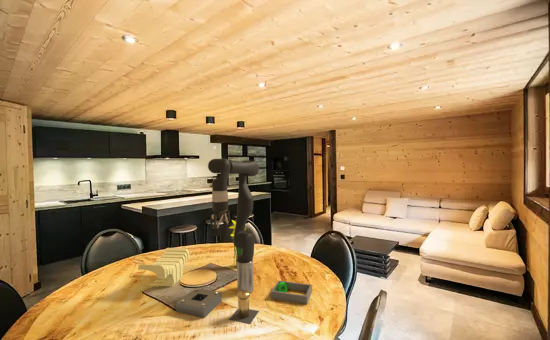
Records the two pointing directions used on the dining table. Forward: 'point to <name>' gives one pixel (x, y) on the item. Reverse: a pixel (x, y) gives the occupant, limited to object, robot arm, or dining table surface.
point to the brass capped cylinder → (243, 303)
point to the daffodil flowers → (238, 250)
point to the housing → (199, 302)
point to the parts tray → (290, 296)
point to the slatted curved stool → (168, 267)
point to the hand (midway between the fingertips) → (220, 233)
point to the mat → (246, 320)
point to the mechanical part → (281, 286)
